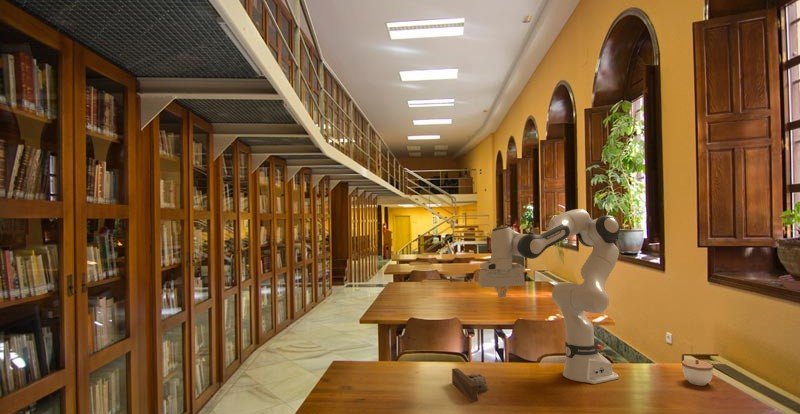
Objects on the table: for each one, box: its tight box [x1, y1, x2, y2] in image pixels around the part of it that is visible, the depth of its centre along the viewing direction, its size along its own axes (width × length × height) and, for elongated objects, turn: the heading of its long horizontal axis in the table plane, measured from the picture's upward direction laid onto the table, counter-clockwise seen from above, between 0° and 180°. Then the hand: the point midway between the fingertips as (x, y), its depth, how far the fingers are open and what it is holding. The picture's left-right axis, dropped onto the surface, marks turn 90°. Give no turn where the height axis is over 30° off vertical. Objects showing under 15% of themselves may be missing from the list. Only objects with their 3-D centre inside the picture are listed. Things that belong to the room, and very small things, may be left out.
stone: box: [465, 373, 489, 393], centre depth 187 cm, size 13×6×10 cm
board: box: [451, 368, 479, 403], centre depth 182 cm, size 2×20×6 cm, turn 14°
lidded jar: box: [681, 358, 714, 386], centre depth 190 cm, size 11×11×9 cm
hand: (501, 296), depth 198 cm, fingers closed
